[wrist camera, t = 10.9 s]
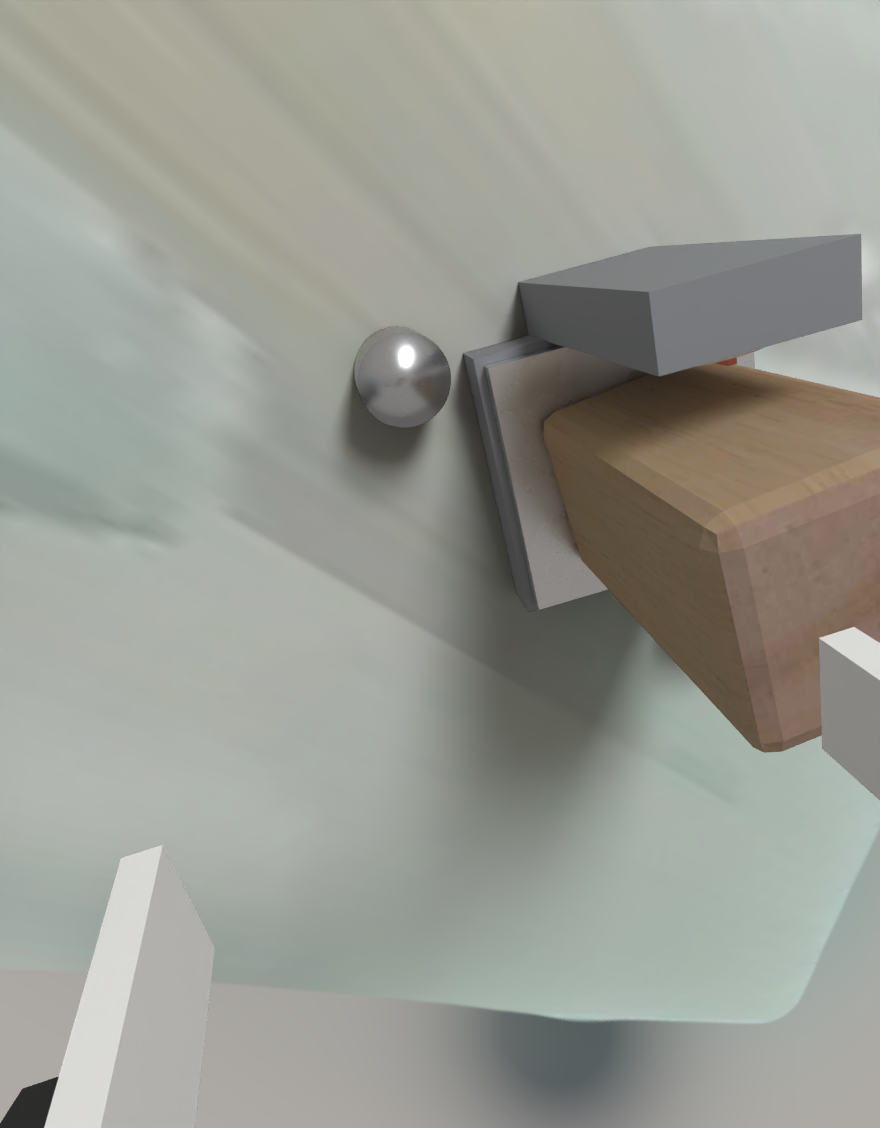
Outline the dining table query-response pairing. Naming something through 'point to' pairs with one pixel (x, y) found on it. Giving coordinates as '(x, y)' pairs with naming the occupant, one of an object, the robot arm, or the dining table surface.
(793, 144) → the dining table surface
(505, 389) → the pan
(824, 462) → the wooden block
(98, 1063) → the robot arm
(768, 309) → the base
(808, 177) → the dining table surface
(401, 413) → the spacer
